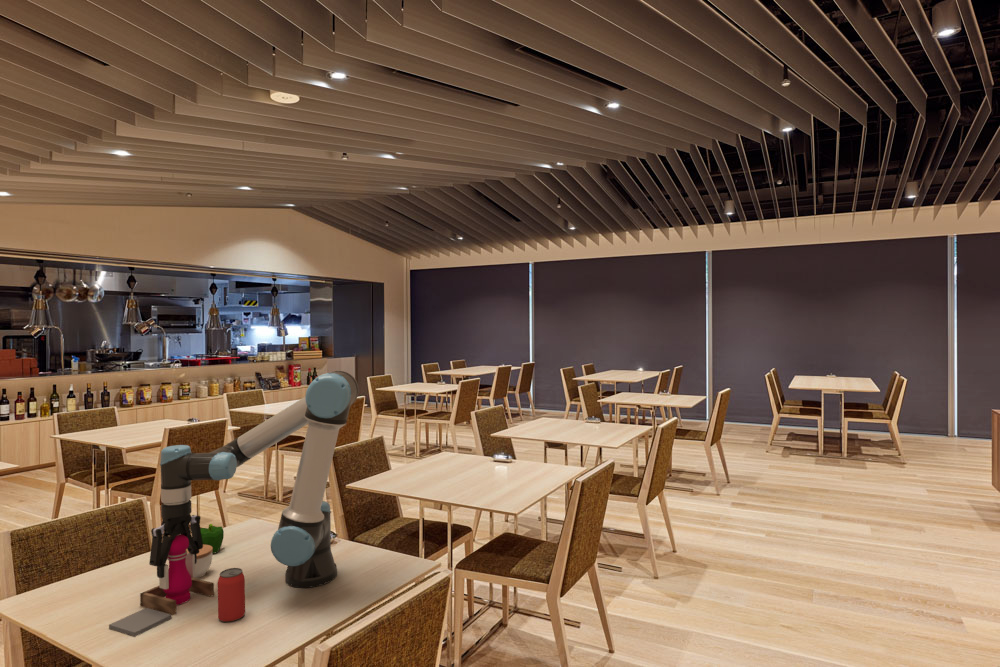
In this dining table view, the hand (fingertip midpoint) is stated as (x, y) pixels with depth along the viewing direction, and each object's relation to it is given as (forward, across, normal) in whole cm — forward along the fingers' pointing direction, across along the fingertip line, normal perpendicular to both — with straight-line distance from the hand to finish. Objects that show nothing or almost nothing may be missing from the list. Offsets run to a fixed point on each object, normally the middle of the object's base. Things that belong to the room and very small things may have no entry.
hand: (177, 582), depth 169 cm
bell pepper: (+5, -30, -23) cm, 38 cm away
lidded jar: (+5, -14, -11) cm, 19 cm away
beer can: (+5, +1, +22) cm, 23 cm away
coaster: (+5, +13, +3) cm, 14 cm away
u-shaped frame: (+5, 0, 0) cm, 5 cm away
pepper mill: (+5, 0, 0) cm, 5 cm away
